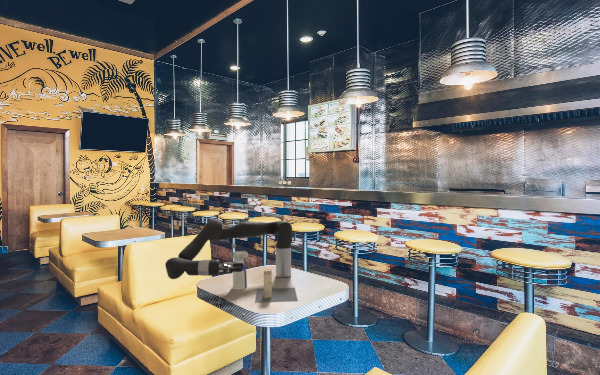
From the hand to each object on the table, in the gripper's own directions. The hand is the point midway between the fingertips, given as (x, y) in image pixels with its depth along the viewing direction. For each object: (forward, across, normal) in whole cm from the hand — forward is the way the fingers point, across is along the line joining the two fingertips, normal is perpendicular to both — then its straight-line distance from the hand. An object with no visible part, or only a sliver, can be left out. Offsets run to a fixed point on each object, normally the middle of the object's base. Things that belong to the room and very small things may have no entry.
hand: (242, 267), depth 162 cm
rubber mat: (+16, +1, +15) cm, 22 cm away
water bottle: (-3, +15, +15) cm, 22 cm away
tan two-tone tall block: (+12, 0, +14) cm, 19 cm away
